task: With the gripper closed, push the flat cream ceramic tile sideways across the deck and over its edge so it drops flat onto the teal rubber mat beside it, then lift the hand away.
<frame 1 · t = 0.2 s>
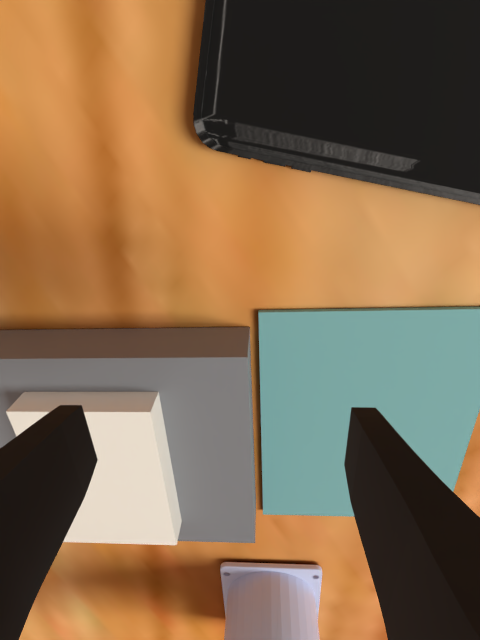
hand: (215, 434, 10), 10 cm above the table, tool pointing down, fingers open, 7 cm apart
tile: (110, 462, 21), point 3 cm above the table, touching deck
mat: (363, 426, 23), on the table
phone: (389, 78, 15), on the table
deck: (127, 425, 24), on the table
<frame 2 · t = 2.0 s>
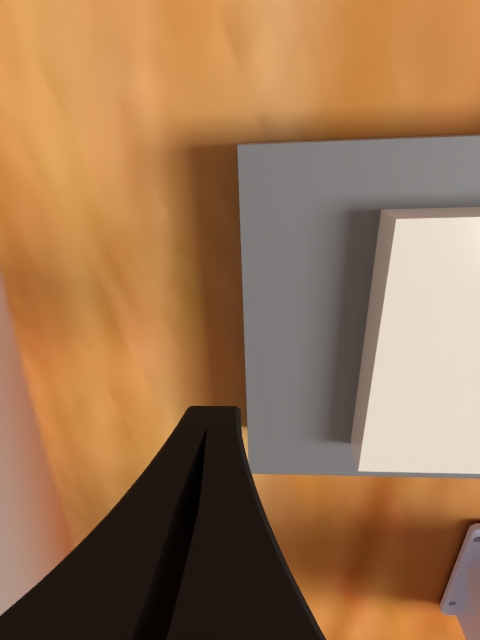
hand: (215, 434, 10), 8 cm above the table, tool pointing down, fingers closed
tile: (459, 345, 14), point 3 cm above the table, touching deck
deck: (427, 310, 16), on the table
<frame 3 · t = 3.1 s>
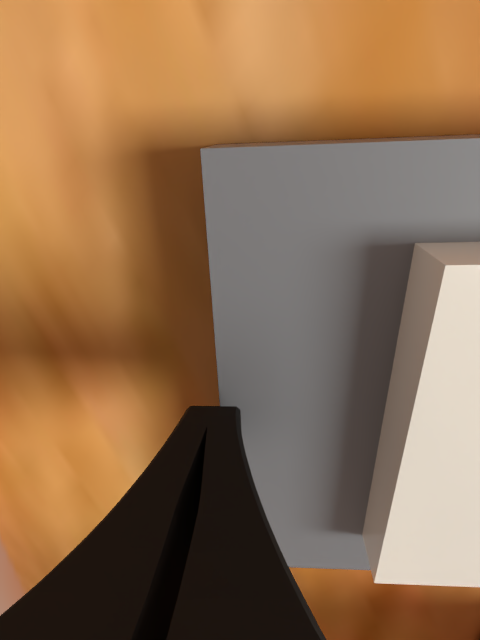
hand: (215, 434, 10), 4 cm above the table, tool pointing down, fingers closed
deck: (461, 361, 13), on the table
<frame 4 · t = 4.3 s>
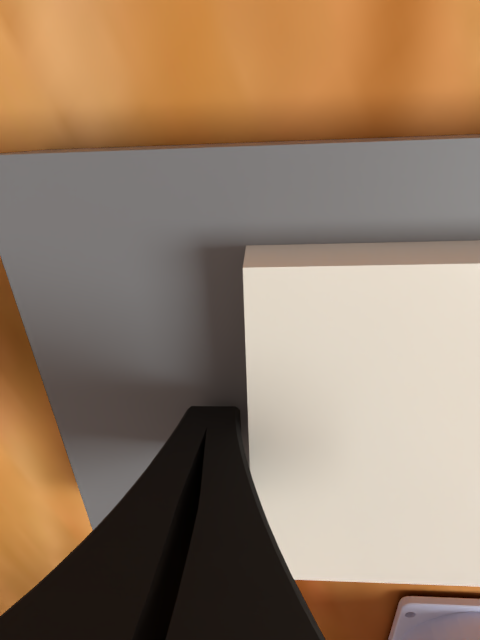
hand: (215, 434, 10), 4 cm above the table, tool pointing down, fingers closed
tile: (377, 420, 10), point 3 cm above the table, touching deck, gripper
deck: (317, 361, 13), on the table
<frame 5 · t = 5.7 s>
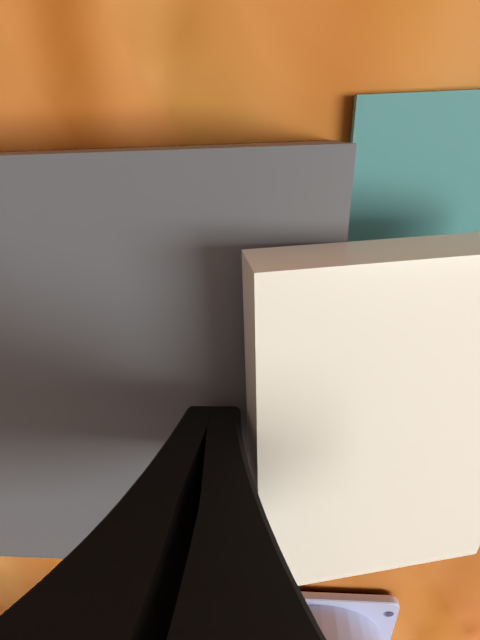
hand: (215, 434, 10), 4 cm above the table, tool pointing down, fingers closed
tile: (369, 413, 10), point 3 cm above the table, tilted 11°, touching deck
deck: (94, 360, 13), on the table
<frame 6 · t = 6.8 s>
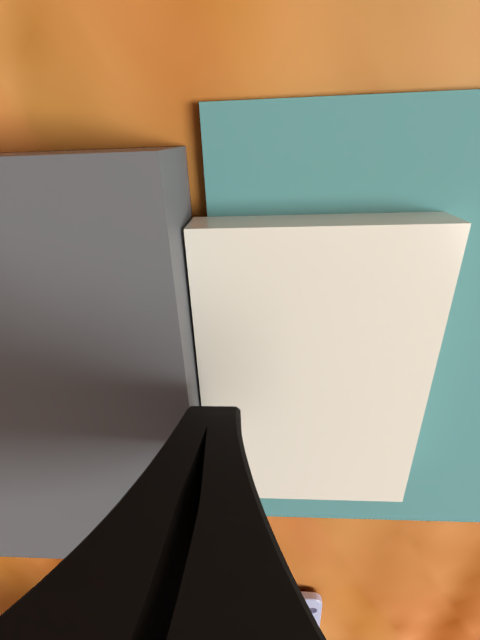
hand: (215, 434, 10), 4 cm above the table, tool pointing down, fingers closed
tile: (307, 362, 13), resting on mat
mat: (398, 361, 13), on the table
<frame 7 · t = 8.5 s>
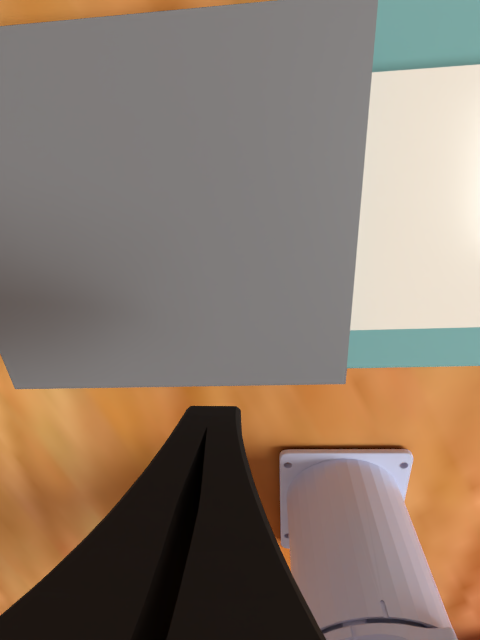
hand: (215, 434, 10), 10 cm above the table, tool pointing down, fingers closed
tile: (429, 209, 16), resting on mat
deck: (167, 224, 17), on the table
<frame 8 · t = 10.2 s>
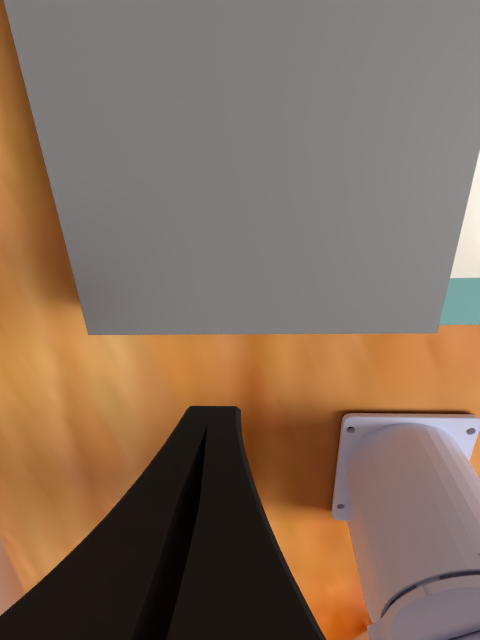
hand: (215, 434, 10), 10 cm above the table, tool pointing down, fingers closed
deck: (255, 164, 16), on the table
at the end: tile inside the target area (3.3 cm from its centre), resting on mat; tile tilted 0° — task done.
